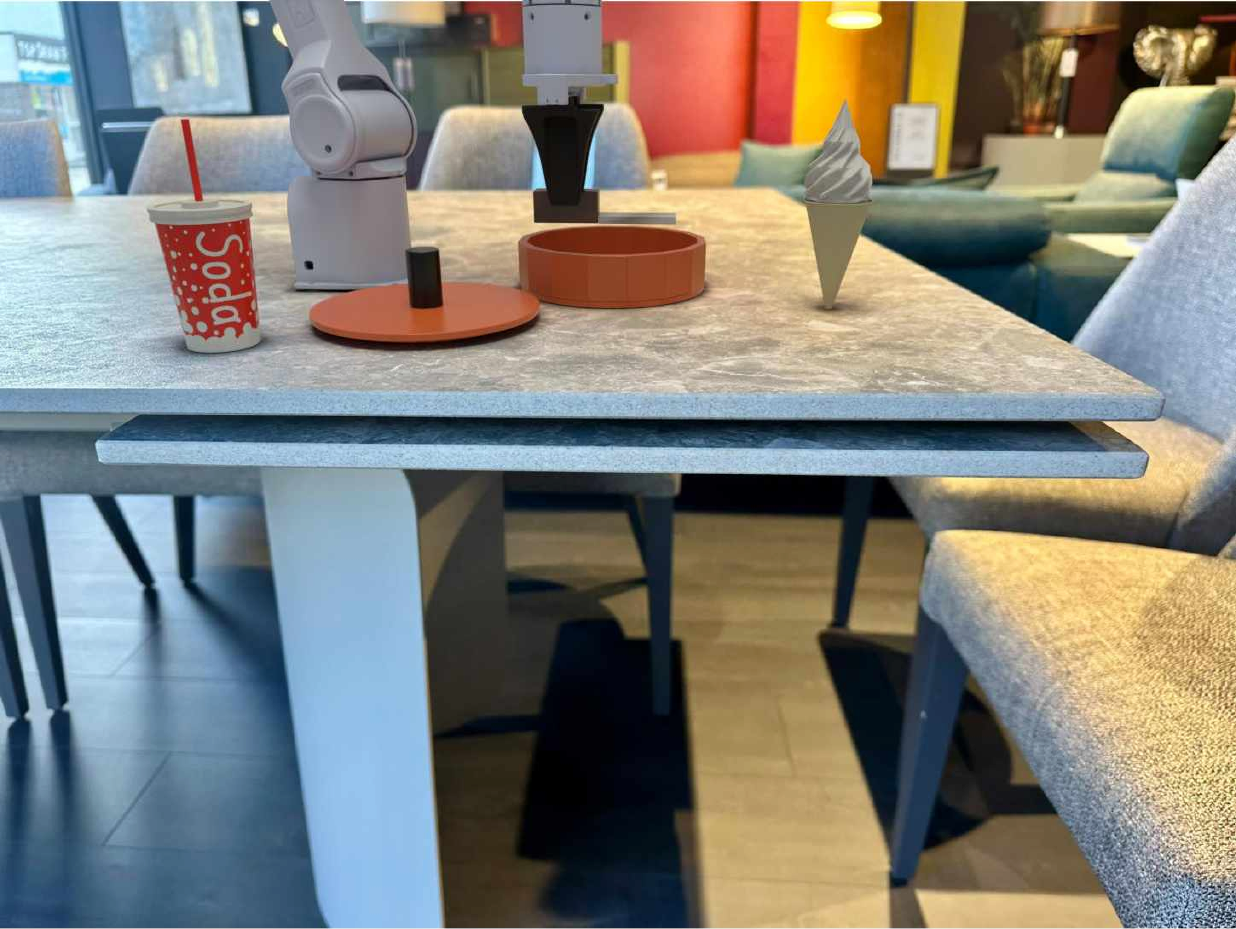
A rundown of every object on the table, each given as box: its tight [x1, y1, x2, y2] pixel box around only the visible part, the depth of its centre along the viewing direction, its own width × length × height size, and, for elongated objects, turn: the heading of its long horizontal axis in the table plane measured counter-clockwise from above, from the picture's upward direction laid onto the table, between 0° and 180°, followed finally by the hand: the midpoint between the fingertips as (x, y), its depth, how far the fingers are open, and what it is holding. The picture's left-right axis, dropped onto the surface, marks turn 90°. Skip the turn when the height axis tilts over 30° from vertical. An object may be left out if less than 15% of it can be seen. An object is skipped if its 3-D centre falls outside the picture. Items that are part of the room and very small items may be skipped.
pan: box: [517, 224, 707, 309], centre depth 76 cm, size 15×15×4 cm
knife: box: [532, 187, 677, 225], centre depth 70 cm, size 11×2×2 cm, turn 87°
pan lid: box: [308, 246, 541, 344], centre depth 65 cm, size 16×16×5 cm
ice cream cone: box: [803, 98, 874, 310], centre depth 67 cm, size 5×5×15 cm
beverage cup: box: [146, 118, 262, 354], centre depth 58 cm, size 6×6×14 cm
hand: (566, 203), depth 70 cm, fingers closed on knife, 2 cm apart
